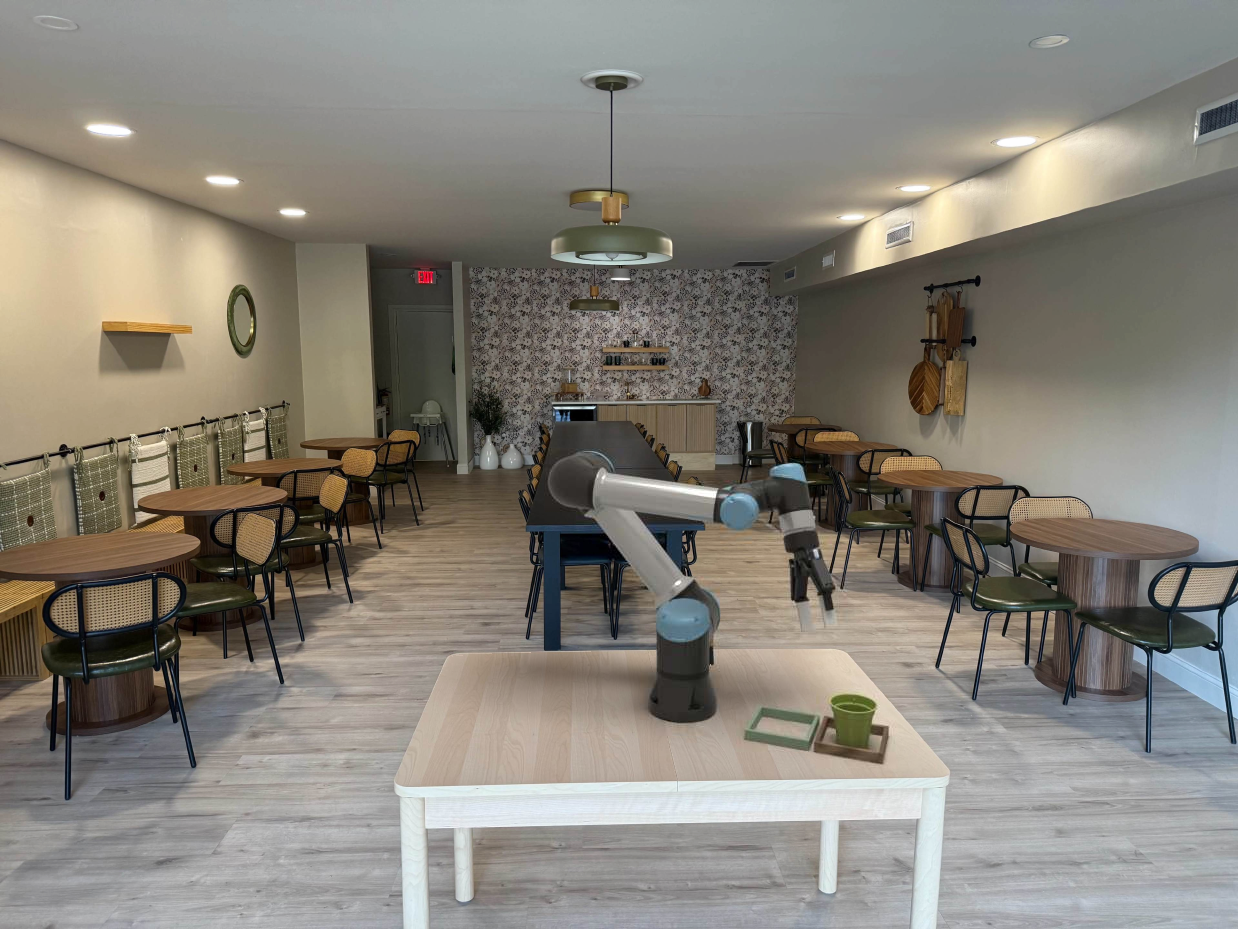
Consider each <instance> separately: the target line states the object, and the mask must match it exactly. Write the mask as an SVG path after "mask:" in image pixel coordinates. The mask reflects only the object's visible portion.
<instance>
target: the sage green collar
mask: <svg viewBox="0 0 1238 929" xmlns="http://www.w3.org/2000/svg"><path fill="white" fill-rule="evenodd" d="M820 716H821V715H820V714H817V713H811V712H803V711H798V710H792V709H786V708H778V707H773V706H766V705H758V707H757V708H756V710H755V712H754V713H753V715H752V717H751V718H750V720H749V722H748V724H747V726H746V727H745V729H744V735H743V737H744V740H746V741H747V740H748V741H753V742H758V743H763V744H767V745H768V744H769V745H774V746H781V747H785V748H790V749H791V748H792V749H796V750H802V751H810V749H811V746H812V744H813V741H814V740H815V737H816V736H815V735H817V732H818V730H819V729H818V728H819V726H820V724H821V723H820V719H821V718H820ZM762 717H767V718H772V719H778V720H784V721H790V722H796V723H801V724H808V725H810V728H809V729H808V732H807V735H806V737H805V738H804V737H803V738H802V737H797V736H791V735H786V734H780V733H774V732H769V731H762V730H757V729H756V727H757V726H758V723H759V722H760V721H761V719H762Z"/></svg>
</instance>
